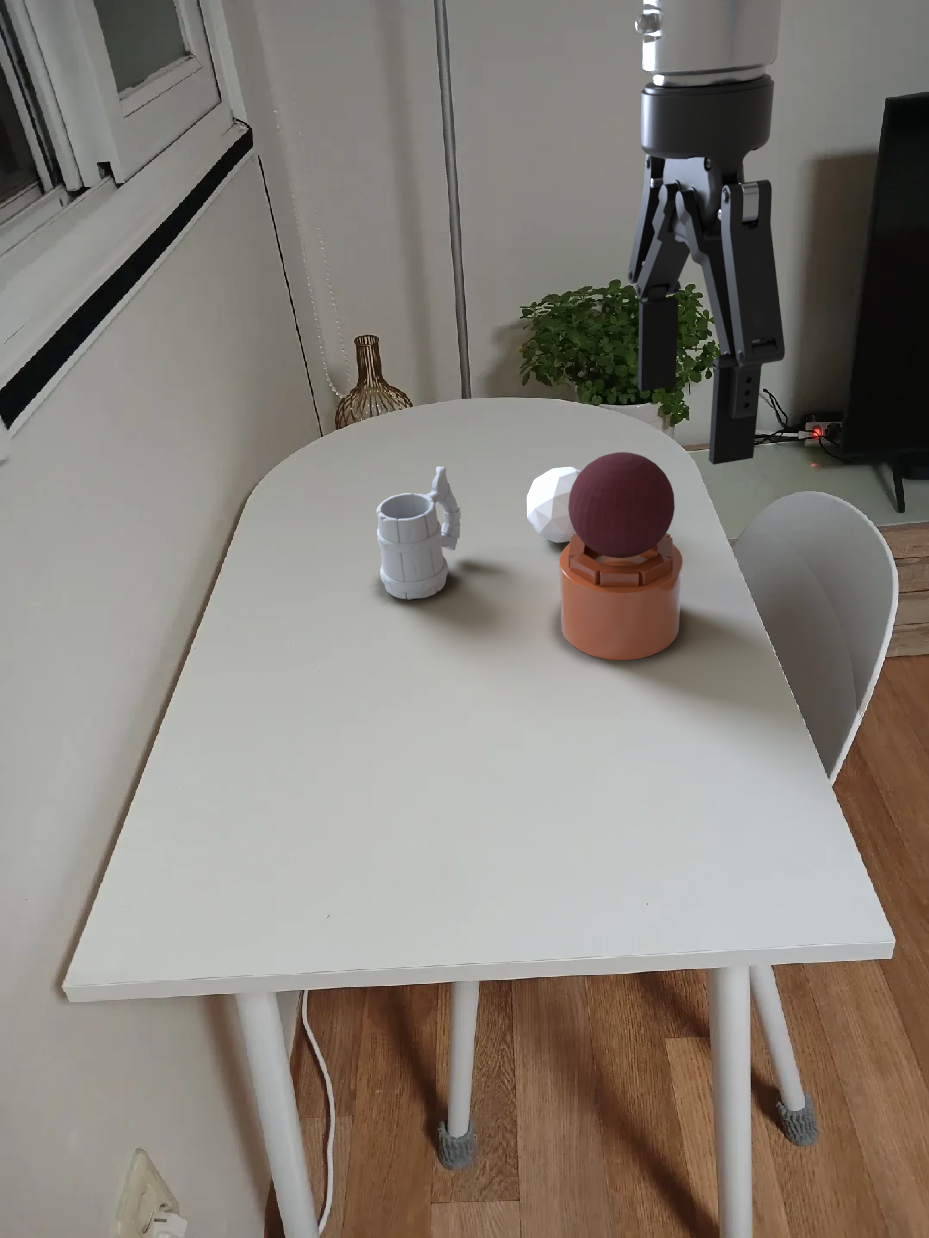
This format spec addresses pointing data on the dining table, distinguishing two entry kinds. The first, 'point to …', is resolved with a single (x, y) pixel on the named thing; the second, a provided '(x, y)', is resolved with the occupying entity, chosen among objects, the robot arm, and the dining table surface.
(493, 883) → the dining table surface
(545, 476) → the perfume bottle
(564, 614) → the pedestal
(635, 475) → the decorative ball
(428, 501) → the mug
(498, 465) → the dining table surface
